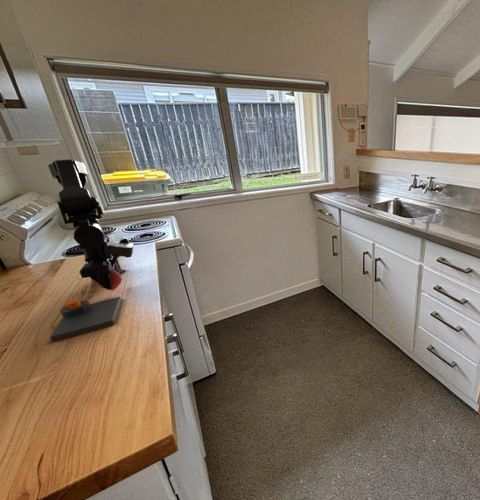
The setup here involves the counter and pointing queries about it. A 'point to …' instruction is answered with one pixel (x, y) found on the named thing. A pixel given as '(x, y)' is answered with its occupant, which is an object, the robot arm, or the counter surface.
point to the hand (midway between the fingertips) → (111, 285)
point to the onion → (114, 280)
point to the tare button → (73, 303)
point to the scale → (86, 318)
